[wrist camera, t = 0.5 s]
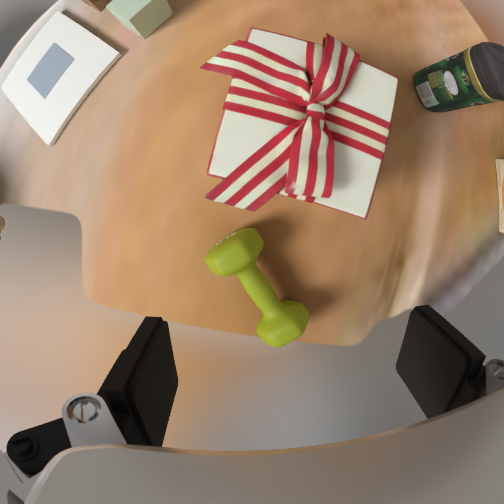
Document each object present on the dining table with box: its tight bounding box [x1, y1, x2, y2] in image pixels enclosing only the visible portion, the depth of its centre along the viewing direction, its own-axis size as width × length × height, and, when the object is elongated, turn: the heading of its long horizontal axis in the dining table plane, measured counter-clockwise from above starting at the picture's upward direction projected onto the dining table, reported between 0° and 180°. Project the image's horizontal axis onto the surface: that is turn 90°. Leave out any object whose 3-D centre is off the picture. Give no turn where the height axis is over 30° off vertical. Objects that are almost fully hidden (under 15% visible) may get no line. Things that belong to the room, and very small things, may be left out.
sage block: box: [106, 0, 173, 39], centre depth 26 cm, size 6×6×7 cm
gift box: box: [200, 28, 399, 219], centre depth 27 cm, size 17×18×17 cm
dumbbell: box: [205, 228, 309, 347], centre depth 38 cm, size 16×8×7 cm, turn 31°
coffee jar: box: [414, 42, 504, 112], centre depth 24 cm, size 10×8×19 cm
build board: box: [1, 11, 122, 146], centre depth 30 cm, size 18×22×1 cm
